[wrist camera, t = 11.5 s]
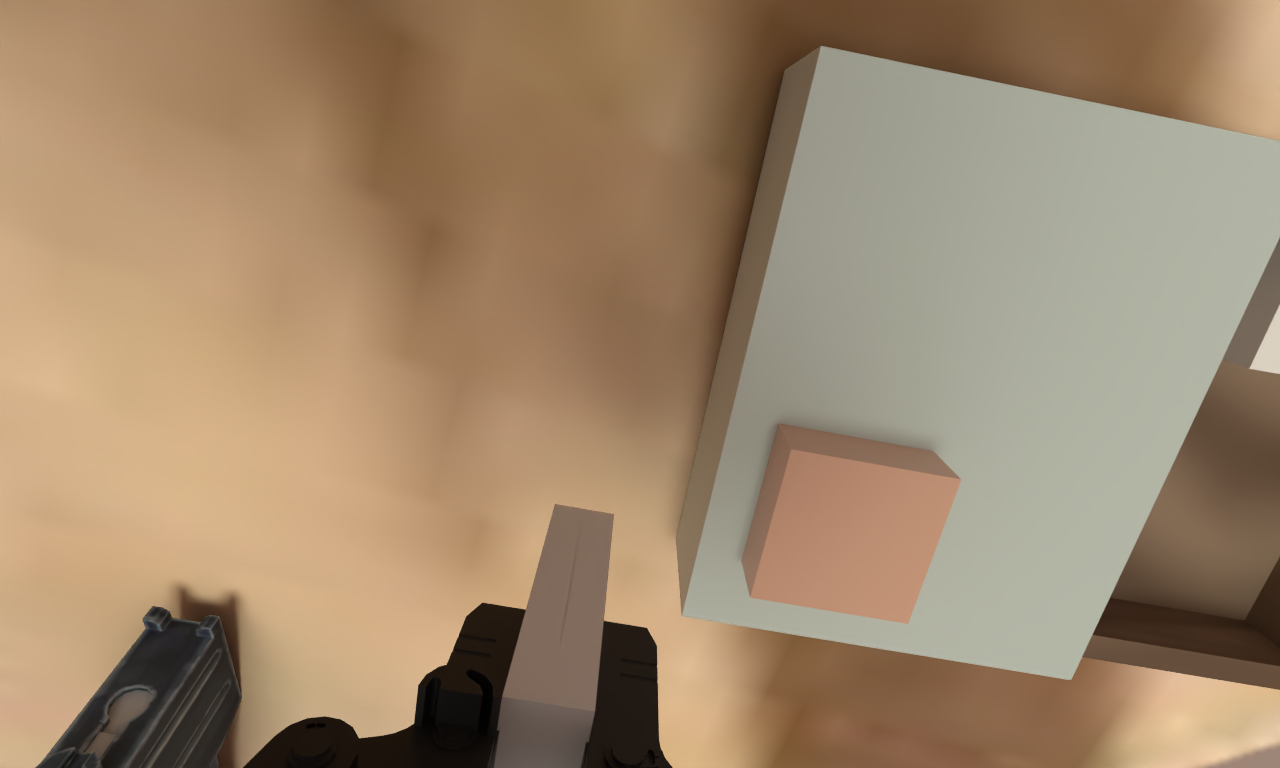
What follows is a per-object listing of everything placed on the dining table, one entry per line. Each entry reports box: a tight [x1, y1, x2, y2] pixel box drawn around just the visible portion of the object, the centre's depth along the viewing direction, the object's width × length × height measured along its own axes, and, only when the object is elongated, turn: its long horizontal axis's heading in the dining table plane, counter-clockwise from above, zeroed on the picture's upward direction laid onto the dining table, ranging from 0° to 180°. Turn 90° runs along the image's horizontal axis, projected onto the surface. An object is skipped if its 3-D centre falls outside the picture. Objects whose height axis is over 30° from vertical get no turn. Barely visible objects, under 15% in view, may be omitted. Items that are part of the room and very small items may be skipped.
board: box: [676, 46, 1280, 680], centre depth 23 cm, size 18×14×5 cm
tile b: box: [741, 423, 961, 624], centre depth 21 cm, size 5×5×2 cm
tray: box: [1082, 359, 1280, 690], centre depth 25 cm, size 18×11×4 cm, turn 169°
